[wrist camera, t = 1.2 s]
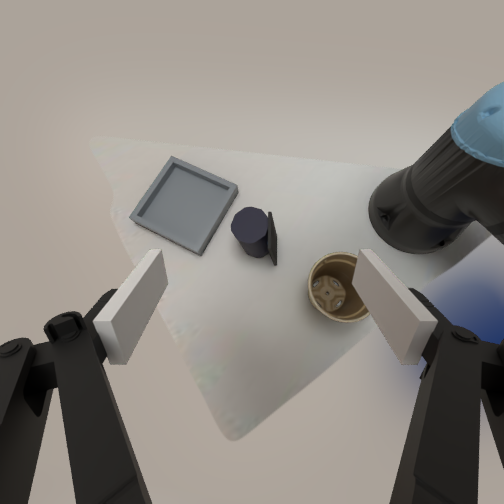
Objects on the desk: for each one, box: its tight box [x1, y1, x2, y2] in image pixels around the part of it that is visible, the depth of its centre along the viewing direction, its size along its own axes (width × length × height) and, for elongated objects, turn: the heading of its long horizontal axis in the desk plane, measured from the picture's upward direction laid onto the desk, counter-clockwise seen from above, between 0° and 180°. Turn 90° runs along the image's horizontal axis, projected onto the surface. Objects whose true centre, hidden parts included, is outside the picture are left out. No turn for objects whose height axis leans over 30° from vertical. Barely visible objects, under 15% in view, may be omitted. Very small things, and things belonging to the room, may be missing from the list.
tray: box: [129, 156, 238, 256], centre depth 45 cm, size 14×14×2 cm
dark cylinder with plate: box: [231, 207, 277, 265], centre depth 39 cm, size 8×6×10 cm
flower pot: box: [308, 252, 370, 323], centre depth 37 cm, size 9×9×9 cm
